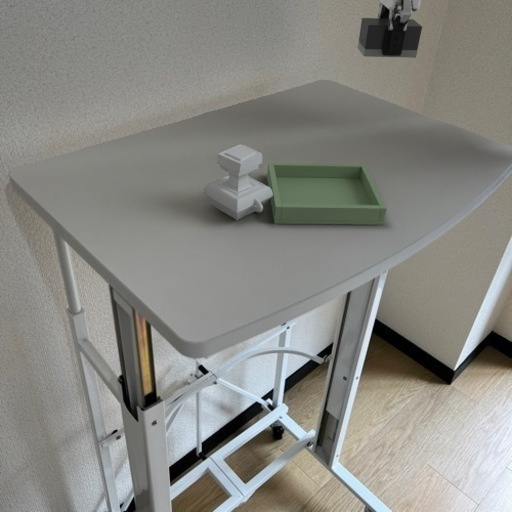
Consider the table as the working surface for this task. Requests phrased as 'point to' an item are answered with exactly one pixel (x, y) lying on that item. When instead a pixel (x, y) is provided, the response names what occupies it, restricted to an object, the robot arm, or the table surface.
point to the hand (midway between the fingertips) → (387, 48)
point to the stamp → (238, 183)
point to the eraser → (375, 34)
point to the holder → (324, 194)
